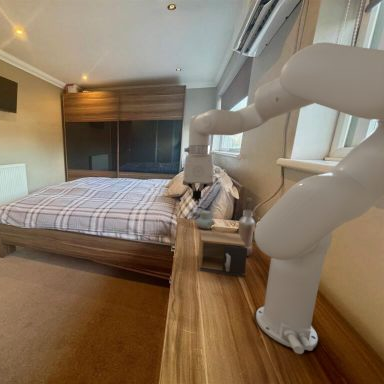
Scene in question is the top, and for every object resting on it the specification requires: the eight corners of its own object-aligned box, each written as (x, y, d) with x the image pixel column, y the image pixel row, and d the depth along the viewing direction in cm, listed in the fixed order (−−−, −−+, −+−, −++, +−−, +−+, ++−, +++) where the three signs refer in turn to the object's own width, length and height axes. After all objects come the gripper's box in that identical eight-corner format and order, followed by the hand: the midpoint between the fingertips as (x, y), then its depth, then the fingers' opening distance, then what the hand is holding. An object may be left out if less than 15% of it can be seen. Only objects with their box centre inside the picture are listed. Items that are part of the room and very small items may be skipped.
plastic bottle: (247, 250, 93) (252, 208, 89) (254, 258, 87) (260, 213, 83) (232, 250, 94) (236, 208, 90) (239, 257, 87) (243, 213, 83)
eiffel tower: (256, 234, 111) (262, 190, 106) (256, 241, 102) (261, 193, 97) (235, 230, 116) (239, 188, 112) (232, 237, 108) (237, 191, 103)
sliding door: (247, 280, 70) (250, 253, 68) (224, 276, 72) (226, 251, 71) (244, 272, 75) (246, 247, 73) (222, 269, 77) (224, 245, 75)
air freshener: (205, 223, 128) (206, 208, 126) (216, 227, 121) (217, 211, 119) (192, 227, 123) (193, 211, 121) (203, 231, 116) (205, 214, 114)
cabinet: (243, 276, 74) (246, 246, 72) (199, 270, 78) (201, 241, 76) (235, 260, 85) (238, 233, 82) (198, 256, 89) (199, 230, 87)
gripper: (177, 151, 71) (175, 202, 74) (223, 150, 67) (219, 204, 70) (178, 151, 78) (176, 197, 81) (220, 150, 74) (216, 199, 77)
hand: (196, 200), depth 76 cm, fingers closed
